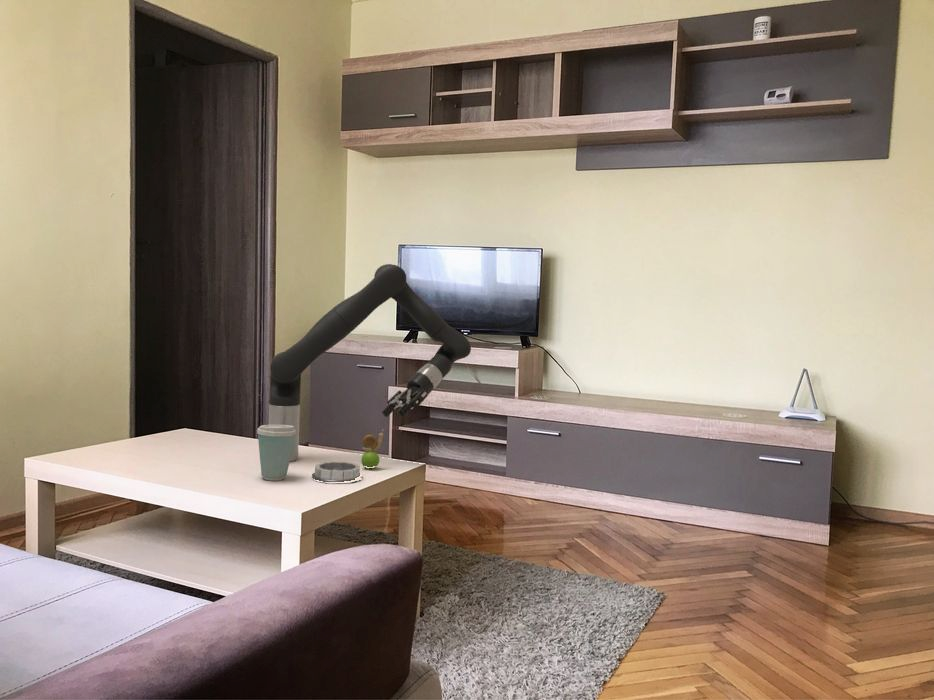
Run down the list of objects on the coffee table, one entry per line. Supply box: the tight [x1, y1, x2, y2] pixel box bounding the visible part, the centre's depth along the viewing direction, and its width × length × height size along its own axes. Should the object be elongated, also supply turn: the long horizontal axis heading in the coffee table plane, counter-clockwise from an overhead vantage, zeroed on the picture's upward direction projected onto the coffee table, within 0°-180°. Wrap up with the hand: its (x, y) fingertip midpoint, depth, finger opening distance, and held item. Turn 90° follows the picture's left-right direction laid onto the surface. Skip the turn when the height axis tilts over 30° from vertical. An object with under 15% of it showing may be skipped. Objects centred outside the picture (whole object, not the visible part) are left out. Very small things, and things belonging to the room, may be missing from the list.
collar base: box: [311, 461, 361, 482], centre depth 212 cm, size 14×14×3 cm
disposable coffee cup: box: [256, 424, 296, 481], centre depth 207 cm, size 11×11×15 cm
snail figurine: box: [360, 428, 385, 467], centre depth 225 cm, size 5×6×12 cm
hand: (391, 414), depth 226 cm, fingers open, 8 cm apart
